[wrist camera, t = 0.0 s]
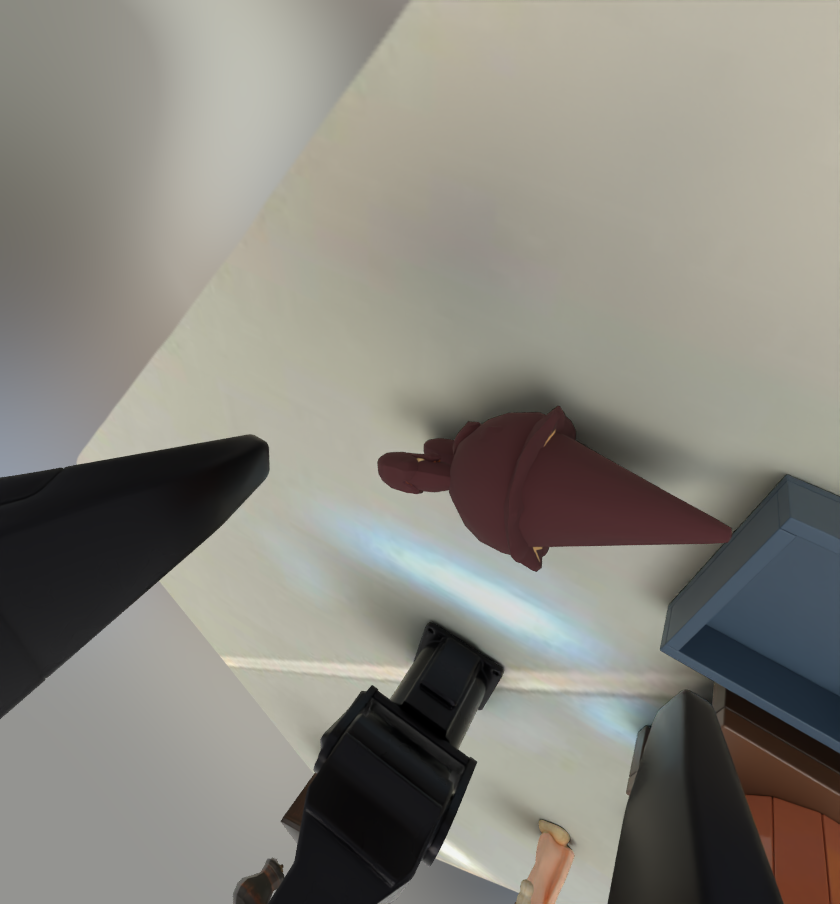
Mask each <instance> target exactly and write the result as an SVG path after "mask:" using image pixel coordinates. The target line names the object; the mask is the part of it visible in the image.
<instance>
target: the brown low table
mask: <svg viewBox="0 0 840 904" xmlns="http://www.w3.org/2000/svg"><path fill="white" fill-rule="evenodd" d="M712 706H713V708H714V710H715V712H716V715H717V718H718V720H719V723H720V726H721V729H722V732H723V734H724V737H725V740H726V743H727V746H728V748H729V751H730V754H731V757H732V760H733V763H734V765H735V768H736V771H737V774H738V777H739V779H740V782H741V785H742V788H743V791H744V793H745V795H758V796H771V797H772V798H773V797H775V798H778V799H781V800H784V801H787V802H790V803H793V804H796V805H799V806H802V807H805V808H808V809H811V810H814V811H817V812H820V813H821V815H822V814H824V815H826V816H827V817H829V818H830V819H832V820H834V821H835V822H837V823H839V824H840V753H838V752H837V751H835V750H833V749H831V748H830V747H828V746H826V745H824V744H823V743H821V742H819V741H817V740H816V739H814V738H812V737H810V736H809V735H807V734H805V733H803V732H802V731H800V730H798V729H796V728H795V727H793V726H791V725H789V724H788V723H786V722H784V721H782V720H781V719H779V718H777V717H775V716H774V715H772V714H770V713H768V712H767V711H765V710H763V709H761V708H760V707H758V706H756V705H755V704H753V703H751V702H749V701H748V700H746V699H744V698H742V697H741V696H739V695H737V694H735V693H734V692H732V691H730V690H728V689H727V688H725V687H723V686H721V685H720V684H718V683H716V682H714V688H713V700H712ZM650 730H651V728H650V727H648V726H645V727H644V728H643V729H642V730H640V731H639V732H638V735H637V740H636V745H635V750H634V755H633V760H632V765H631V770H630V775H629V777H630V778H629V780H628V785H627V790H626V794H627V795H629V796H630V792H631V789H632V786H633V783H634V780H635V777H636V774H637V770H638V767H639V764H640V761H641V758H642V755H643V752H644V749H645V745H646V742H647V739H648V736H649V733H650Z"/></svg>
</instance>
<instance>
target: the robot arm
mask: <svg viewBox="0 0 840 904" xmlns="http://www.w3.org/2000/svg"><path fill="white" fill-rule="evenodd" d="M268 473H269V446H268V444H267V442H265V441H264V440H262V439H260V438H259V437H257V436H255V435H251V434H250V435H243V436H237V437H232V438H226V439H220V440H215V441H209V442H203V443H198V444H192V445H186V446H181V447H175V448H170V449H164V450H158V451H153V452H147V453H141V454H136V455H130V456H124V457H119V458H113V459H107V460H102V461H96V462H91V463H85V464H79V465H74V466H68V467H65V468H64V469H63V468H56V469H51V470H45V471H40V472H33V473H27V474H21V475H15V476H8V477H1V478H0V719H1V718H2V717H3V716H4V715H5V714H7V713H8V712H9V711H10V710H11V709H12V708H14V707H15V706H16V705H17V704H18V703H19V702H20V701H22V700H23V699H24V698H25V697H26V696H27V695H29V694H30V693H31V692H32V691H33V690H34V689H35V688H37V687H38V686H39V685H40V684H41V683H42V682H43V681H45V678H47V677H49V676H50V675H51V674H52V673H53V672H55V671H56V670H57V669H58V668H59V667H60V666H62V665H63V664H64V663H65V662H66V661H67V660H68V659H70V658H71V657H72V656H73V655H74V654H75V653H76V652H78V651H79V650H80V649H81V648H82V647H83V646H84V645H86V644H87V643H88V642H89V641H90V640H91V639H92V638H93V637H95V636H96V635H97V634H98V633H99V632H101V631H102V630H103V629H104V628H105V627H106V626H107V625H109V624H110V623H111V622H112V621H113V620H114V619H116V618H117V617H118V616H119V615H120V614H121V613H122V612H124V611H125V610H126V609H127V608H128V607H129V606H130V605H132V604H133V603H134V602H135V601H136V600H137V599H138V598H140V597H141V596H142V595H143V594H144V593H145V592H147V591H148V590H149V589H150V588H151V587H152V586H153V585H154V584H156V583H157V582H158V581H159V580H160V579H161V578H163V577H164V576H165V575H166V574H167V573H168V572H170V571H171V570H172V569H173V568H174V567H175V566H176V565H178V564H179V563H180V562H181V561H182V560H183V559H184V558H186V557H187V556H188V555H189V554H190V553H191V552H193V551H194V550H195V549H196V548H197V547H198V546H199V545H201V544H202V543H203V542H204V541H205V540H206V539H207V538H209V537H210V536H211V535H212V534H213V533H214V532H215V531H216V530H217V529H219V528H220V527H221V526H222V525H223V524H224V523H225V522H226V521H227V520H228V519H229V518H230V516H231V515H232V514H233V513H234V512H235V511H236V510H237V509H238V508H239V507H240V506H241V505H242V504H243V503H244V502H245V500H246V499H247V498H248V497H249V496H250V495H251V494H252V493H253V492H254V491H255V490H256V489H257V488H258V487H259V486H260V484H261V483H262V482H263V481H264V480H265V479H266V477H267V476H268ZM503 673H504V670H503V669H502V667H501V666H499V665H498V664H496V663H495V662H493V661H492V660H490V659H488V658H487V657H485V656H484V655H482V654H481V653H479V652H478V651H476V650H475V649H473V648H472V647H470V646H468V645H467V644H465V643H464V642H462V641H461V640H459V639H458V638H456V637H455V636H453V635H452V634H450V633H448V632H447V631H445V630H444V629H442V628H441V627H439V626H438V625H436V624H435V623H433V622H429V623H428V624H427V626H426V627H425V630H424V633H423V636H422V639H421V642H420V645H419V648H418V651H417V653H416V656H415V659H414V663H413V665H412V666H411V668H410V669H409V671H408V672H407V674H406V675H405V677H404V678H403V680H402V681H401V683H400V685H399V686H398V688H397V689H396V691H395V692H394V694H393V695H392V697H391V698H390V699H388V698H387V697H386V696H384V695H383V694H382V693H380V692H379V691H378V689H377V688H376V687H374V686H373V685H372V686H371V687H370V688H369V689H368V690H367V692H366V691H361V692H360V694H359V695H358V697H357V698H356V699H355V701H354V702H353V704H352V705H351V706H350V708H349V709H348V710H347V711H346V712H345V713H344V714H343V715H342V716H341V717H340V718H339V719H338V720H337V721H336V722H335V723H334V724H333V725H332V726H331V727H330V728H329V729H328V730H327V731H326V732H325V733H324V734H323V736H322V738H321V740H320V741H321V751H320V753H319V756H318V759H317V761H316V763H315V766H314V771H315V772H316V773H317V775H316V776H315V778H314V779H313V781H312V782H311V784H310V785H309V787H308V789H307V793H306V798H305V804H304V809H303V815H302V821H301V827H300V833H299V838H298V844H297V850H296V856H295V861H294V864H293V865H292V867H291V868H290V870H289V871H288V873H287V875H286V876H285V878H284V879H283V881H282V882H281V884H280V886H279V887H278V889H277V890H276V892H275V893H274V895H273V897H272V898H271V900H270V901H269V903H268V904H390V903H391V902H393V901H394V900H395V899H397V898H398V896H399V895H400V893H401V892H402V891H403V890H404V888H405V887H406V886H407V884H408V883H409V881H410V880H411V879H412V877H413V876H414V874H415V872H416V870H417V867H418V865H419V864H420V861H422V862H423V863H425V864H426V865H427V866H428V867H430V866H431V864H432V863H433V861H434V859H435V858H436V856H437V854H438V852H439V850H440V848H441V846H442V844H443V842H444V840H445V838H446V836H447V834H448V831H449V829H450V827H451V825H452V823H453V820H454V818H455V815H456V813H457V811H458V808H459V806H460V803H461V801H462V798H463V796H464V793H465V791H466V788H467V786H468V784H469V781H470V779H471V776H472V774H473V771H474V769H475V766H476V764H477V761H476V760H474V759H473V758H472V757H470V758H469V757H468V756H466V755H465V754H464V753H462V752H461V751H460V750H458V749H459V747H460V745H461V742H462V740H463V738H464V736H465V734H466V732H467V730H468V728H469V726H470V724H471V722H472V720H473V718H474V716H475V714H476V712H477V710H482V709H483V707H484V705H485V704H486V702H487V700H488V699H489V697H490V695H491V694H492V692H493V691H494V689H495V687H496V686H497V684H498V682H499V681H500V679H501V677H502V675H503ZM608 904H784V903H783V900H782V897H781V894H780V891H779V889H778V886H777V883H776V880H775V877H774V875H773V872H772V869H771V866H770V863H769V861H768V858H767V855H766V852H765V849H764V847H763V844H762V841H761V838H760V835H759V833H758V830H757V827H756V824H755V821H754V819H753V816H752V813H751V810H750V807H749V805H748V802H747V799H746V796H745V793H744V791H743V788H742V785H741V782H740V779H739V777H738V774H737V771H736V768H735V765H734V763H733V760H732V757H731V754H730V751H729V748H728V746H727V743H726V740H725V737H724V734H723V732H722V729H721V726H720V723H719V720H718V718H717V715H716V712H715V710H714V708H713V706H712V705H711V704H710V703H709V702H708V701H707V700H705V699H703V698H702V697H700V696H698V695H696V694H695V693H693V692H691V691H689V690H682V691H681V692H679V693H678V694H677V695H676V696H675V697H673V698H672V699H671V700H670V701H669V702H668V703H666V704H665V705H664V706H663V707H662V708H661V709H660V710H659V711H658V712H657V714H656V716H655V718H654V721H653V724H652V727H651V730H650V733H649V736H648V739H647V742H646V745H645V749H644V752H643V755H642V758H641V761H640V764H639V767H638V770H637V774H636V777H635V780H634V783H633V786H632V789H631V792H630V796H629V799H628V802H627V806H626V810H625V814H624V819H623V824H622V829H621V834H620V840H619V845H618V850H617V856H616V861H615V866H614V872H613V877H612V882H611V888H610V893H609V899H608Z"/></svg>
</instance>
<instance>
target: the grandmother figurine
mask: <svg viewBox="0 0 840 904" xmlns="http://www.w3.org/2000/svg"><path fill="white" fill-rule="evenodd" d="M539 828H540V831H541V833H542V834H541V835H540V838H539V841H538V846H537V851H536V862H535V865H534V867H533V869H532V870H531V873H530V875H529V877H528V879H525V880H523V881H522V882H521V886H520V893H519V894H518V897H517V901H516V902H515V904H555V902H556V900H557V897H558V895H559V893H560V890H561V888H562V886H563V884H564V882H565V880H566V878H567V875H568V872H569V870H570V867H571V864H572V862H573V859H574V856H575V855H574V853H573V851H572V850H571V849H570V848H569V847H567V846H566V845H567V843H568V842H569V840H570V837H569V835H568V833H567V832H566V831H565V830H564V829H562V828H561V827H559V826H557V825H555V824H552V823H550V822H547V821H544V820H540V821H539Z"/></svg>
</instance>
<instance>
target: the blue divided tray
mask: <svg viewBox="0 0 840 904" xmlns="http://www.w3.org/2000/svg"><path fill="white" fill-rule="evenodd" d="M660 651H662V652H664V653H665V654H667V655H669V656H671V657H672V658H674V659H676V660H678V661H679V662H681V663H683V664H685V665H686V666H688V667H690V668H692V669H693V670H695V671H697V672H699V673H700V674H702V675H704V676H706V677H707V678H709V679H711V680H713V681H714V682H716V683H718V684H720V685H721V686H723V687H725V688H727V689H728V690H730V691H732V692H734V693H735V694H737V695H739V696H741V697H742V698H744V699H746V700H748V701H749V702H751V703H753V704H755V705H756V706H758V707H760V708H761V709H763V710H765V711H767V712H768V713H770V714H772V715H774V716H775V717H777V718H779V719H781V720H782V721H784V722H786V723H788V724H789V725H791V726H793V727H795V728H796V729H798V730H800V731H802V732H803V733H805V734H807V735H809V736H810V737H812V738H814V739H816V740H817V741H819V742H821V743H823V744H824V745H826V746H828V747H830V748H831V749H833V750H835V751H837V752H838V753H840V497H839V496H837V495H835V494H832V493H830V492H828V491H825V490H823V489H820V488H818V487H816V486H813V485H811V484H809V483H806V482H804V481H802V480H799V479H797V478H794V477H792V476H790V475H786V476H785V477H784V478H783V479H782V480H781V481H780V482H779V483H778V485H777V486H776V487H775V488H774V489H773V490H772V491H771V492H770V493H769V495H768V496H767V497H766V498H765V499H764V500H763V501H762V502H761V503H760V505H759V506H758V507H757V508H756V509H755V510H754V511H753V512H752V513H751V515H750V516H749V517H748V518H747V519H746V520H745V521H744V522H743V523H742V525H741V526H740V527H739V528H738V529H737V530H736V531H735V532H734V533H733V535H732V537H731V539H730V541H729V542H728V543H724V545H723V546H722V547H721V548H720V549H719V550H718V551H717V552H716V553H715V555H714V556H713V557H712V558H711V559H710V560H709V561H708V562H707V563H706V565H705V566H704V567H703V568H702V569H701V570H700V571H699V572H698V573H697V575H696V576H695V577H694V578H693V579H692V580H691V581H690V582H689V583H688V585H687V586H686V587H685V588H684V589H683V590H682V591H681V592H680V593H679V595H678V596H677V597H676V598H675V599H674V600H673V601H672V602H671V603H670V605H669V606H668V610H667V615H666V620H665V625H664V631H663V636H662V641H661V646H660Z"/></svg>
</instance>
